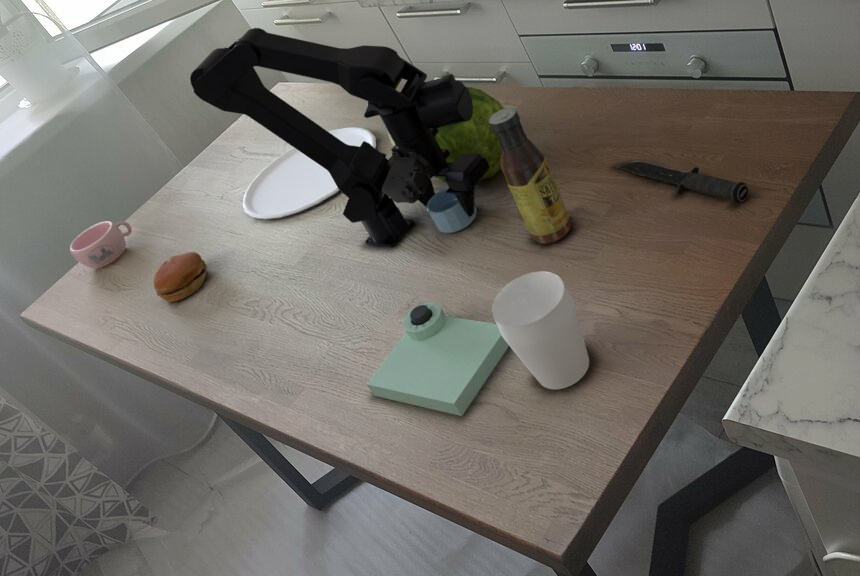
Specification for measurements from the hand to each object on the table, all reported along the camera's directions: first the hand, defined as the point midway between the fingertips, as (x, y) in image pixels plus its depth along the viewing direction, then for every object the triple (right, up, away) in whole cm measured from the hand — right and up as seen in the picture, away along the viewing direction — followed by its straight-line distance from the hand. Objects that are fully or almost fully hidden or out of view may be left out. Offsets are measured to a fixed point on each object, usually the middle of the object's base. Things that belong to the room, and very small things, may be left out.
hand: (454, 213), depth 134 cm
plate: (-32, +11, +34) cm, 47 cm away
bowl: (+1, -1, +1) cm, 2 cm away
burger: (-50, -11, +18) cm, 54 cm away
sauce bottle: (+16, -4, -10) cm, 19 cm away
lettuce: (0, +8, +13) cm, 15 cm away
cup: (+17, -22, -32) cm, 42 cm away
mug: (-73, -5, +39) cm, 83 cm away
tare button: (-2, -16, -21) cm, 26 cm away
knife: (+33, +3, -12) cm, 36 cm away
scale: (+1, -22, -24) cm, 33 cm away
